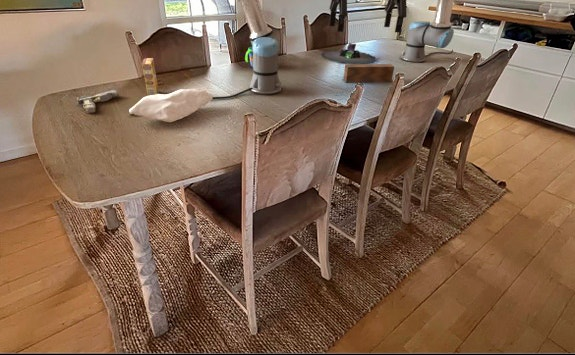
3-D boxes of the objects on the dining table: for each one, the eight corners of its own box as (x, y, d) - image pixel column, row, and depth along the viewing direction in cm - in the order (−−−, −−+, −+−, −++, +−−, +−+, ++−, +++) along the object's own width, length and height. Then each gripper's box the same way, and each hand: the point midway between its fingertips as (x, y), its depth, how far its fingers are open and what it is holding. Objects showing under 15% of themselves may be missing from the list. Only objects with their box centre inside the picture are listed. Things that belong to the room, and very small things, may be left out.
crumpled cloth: (117, 110, 146) (113, 90, 140) (195, 92, 166) (194, 73, 160) (143, 139, 134) (140, 118, 128) (223, 116, 154) (224, 96, 148)
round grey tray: (386, 59, 233) (388, 44, 229) (346, 66, 216) (347, 50, 211) (349, 51, 258) (350, 37, 253) (310, 56, 240) (311, 42, 236)
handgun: (128, 97, 156) (111, 87, 164) (86, 107, 144) (70, 97, 152) (129, 103, 157) (113, 94, 165) (88, 114, 146) (72, 103, 154)
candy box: (157, 97, 164) (152, 63, 155) (147, 98, 163) (141, 63, 155) (158, 91, 171) (153, 57, 163) (149, 91, 170) (143, 58, 162)
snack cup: (264, 62, 219) (264, 45, 213) (273, 67, 211) (274, 49, 206) (241, 65, 211) (240, 47, 206) (250, 70, 204) (249, 51, 198)
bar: (345, 82, 192) (347, 67, 188) (343, 79, 196) (345, 64, 192) (391, 81, 196) (394, 66, 192) (387, 78, 200) (390, 64, 196)
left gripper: (359, -18, 156) (351, 34, 167) (341, -23, 176) (335, 24, 188) (342, -19, 154) (335, 33, 166) (326, -24, 175) (321, 23, 186)
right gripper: (420, -16, 162) (409, 34, 174) (397, -20, 183) (389, 25, 194) (404, -16, 161) (395, 34, 173) (383, -21, 182) (375, 24, 193)
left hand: (335, 28), depth 177 cm, fingers open, 13 cm apart
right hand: (392, 29), depth 184 cm, fingers open, 13 cm apart
